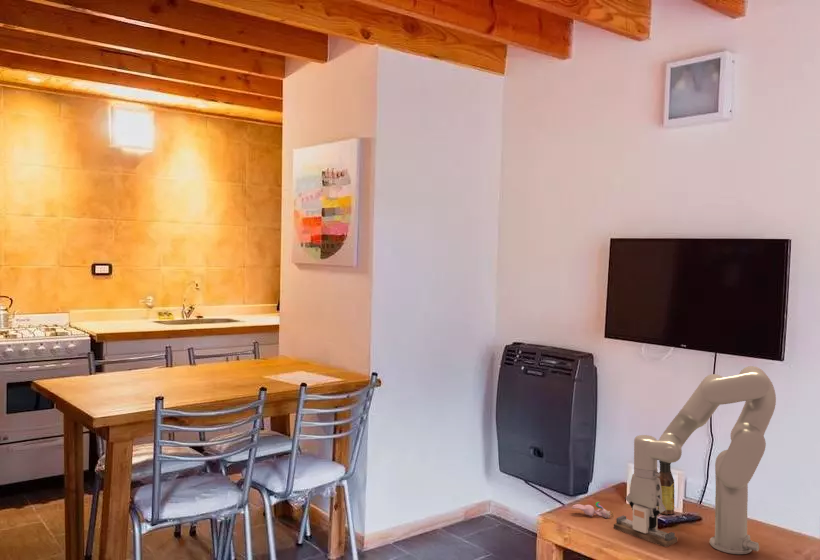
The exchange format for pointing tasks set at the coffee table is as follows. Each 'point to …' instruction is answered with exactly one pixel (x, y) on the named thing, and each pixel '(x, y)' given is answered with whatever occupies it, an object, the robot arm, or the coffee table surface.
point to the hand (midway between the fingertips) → (645, 524)
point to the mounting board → (644, 535)
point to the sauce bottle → (667, 487)
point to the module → (641, 518)
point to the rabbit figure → (591, 511)
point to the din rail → (652, 531)
